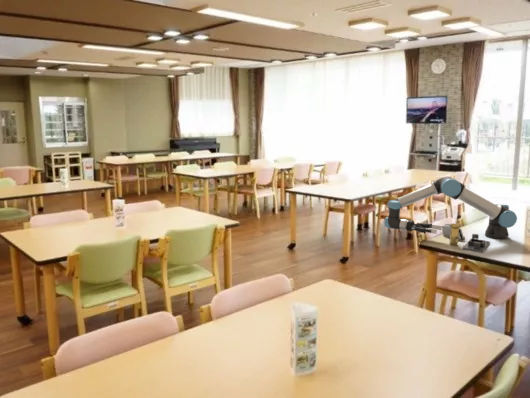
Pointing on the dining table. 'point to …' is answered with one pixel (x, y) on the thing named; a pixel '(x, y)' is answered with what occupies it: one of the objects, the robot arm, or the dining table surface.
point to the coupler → (454, 234)
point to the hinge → (447, 231)
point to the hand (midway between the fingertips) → (439, 229)
